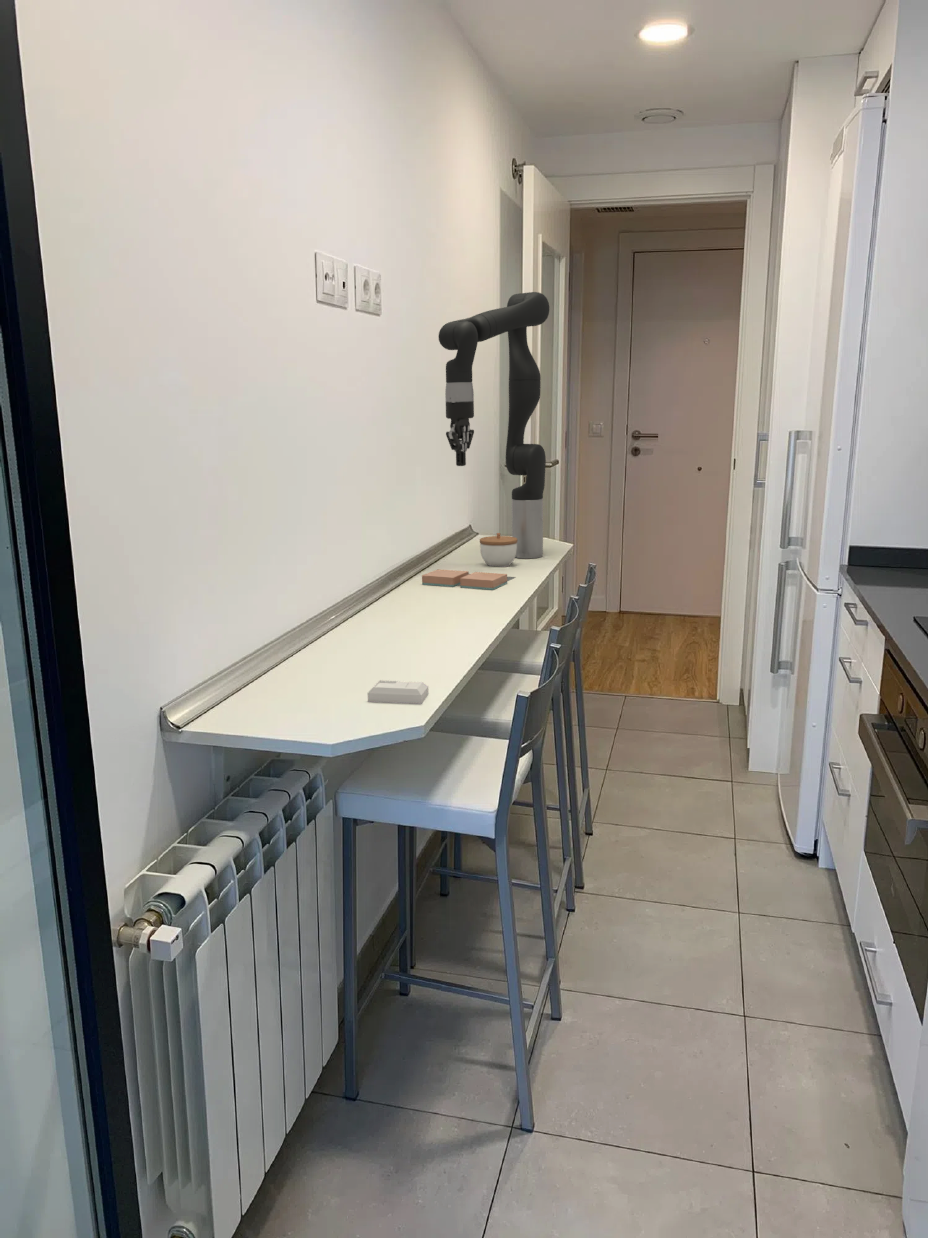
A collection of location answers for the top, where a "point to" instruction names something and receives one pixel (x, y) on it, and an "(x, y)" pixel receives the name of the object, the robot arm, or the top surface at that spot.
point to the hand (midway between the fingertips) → (460, 465)
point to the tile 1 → (443, 577)
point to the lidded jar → (498, 550)
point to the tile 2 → (483, 580)
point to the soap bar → (398, 692)
